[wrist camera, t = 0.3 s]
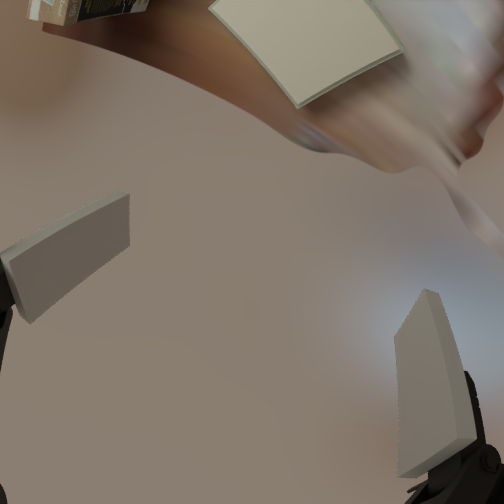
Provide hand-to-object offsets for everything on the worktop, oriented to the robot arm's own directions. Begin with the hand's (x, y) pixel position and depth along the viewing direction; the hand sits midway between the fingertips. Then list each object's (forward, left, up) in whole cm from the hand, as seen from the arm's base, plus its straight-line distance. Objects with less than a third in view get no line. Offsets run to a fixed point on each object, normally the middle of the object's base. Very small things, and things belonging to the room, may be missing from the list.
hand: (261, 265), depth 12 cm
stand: (-4, -10, -27) cm, 29 cm away
